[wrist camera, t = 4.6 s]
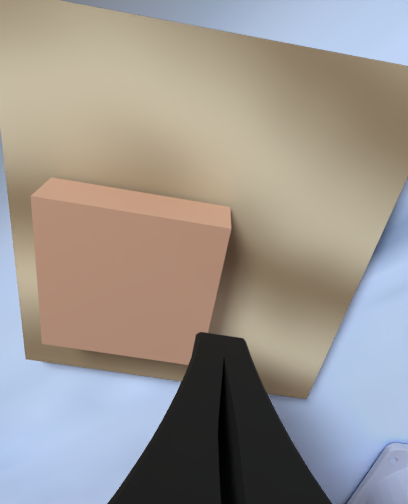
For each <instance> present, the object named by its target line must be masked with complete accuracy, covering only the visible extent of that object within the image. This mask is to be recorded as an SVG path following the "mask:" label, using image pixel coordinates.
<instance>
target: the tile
mask: <svg viewBox="0 0 408 504" xmlns="http://www.w3.org/2000/svg"><path fill="white" fill-rule="evenodd" d="M31 208H32V221H33V234H34V247H35V260H36V273H37V286H38V299H39V312H40V325H41V338H42V344H46V345H53V346H60V347H67V348H74V349H81V350H88V351H95V352H102V353H109V354H116V355H123V356H129V357H136V358H143V359H150V360H157V361H164V362H171V363H178V364H185V365H189V362H190V359H191V356H192V351H193V346H194V341H195V336H196V334H198V333H199V332H205V333H208V331H209V326H210V322H211V317H212V313H213V309H214V304H215V300H216V295H217V291H218V286H219V282H220V277H221V273H222V268H223V264H224V259H225V255H226V251H227V246H228V242H229V237H230V233H231V211H230V207H227V206H221V205H215V204H209V203H203V202H197V201H191V200H185V199H179V198H173V197H167V196H161V195H155V194H149V193H143V192H137V191H131V190H125V189H119V188H113V187H107V186H101V185H95V184H89V183H83V182H77V181H71V180H64V179H58V178H52V177H51V178H50V179H49V180H48V181H47V182H46V183H44V184H43V185H42V186H41V187H40V188H39V189H38V190H37V191H36V192H34V193H33V194H32V195H31Z"/></svg>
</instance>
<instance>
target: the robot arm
mask: <svg viewBox="0 0 408 504" xmlns="http://www.w3.org/2000/svg"><path fill="white" fill-rule="evenodd" d="M108 504H332V503H331V502H330V500H329V499H328V497H327V496H326V494H325V493H324V491H323V490H322V488H321V487H320V485H319V484H318V482H317V481H316V480H315V478H314V476H313V475H312V473H311V472H310V470H309V469H308V467H307V466H306V464H305V462H304V461H303V459H302V458H301V456H300V454H299V453H298V451H297V449H296V448H295V446H294V444H293V442H292V441H291V439H290V437H289V435H288V433H287V432H286V430H285V428H284V426H283V424H282V423H281V421H280V419H279V417H278V415H277V413H276V411H275V409H274V407H273V405H272V403H271V401H270V399H269V397H268V394H267V392H266V390H265V388H264V386H263V384H262V382H261V379H260V377H259V375H258V372H257V370H256V367H255V365H254V362H253V360H252V357H251V355H250V352H249V349H248V346H247V343H246V341H245V340H244V339H243V338H238V337H232V336H225V335H218V334H212V333H205V332H199V333H198V334H196V336H195V341H194V346H193V351H192V356H191V359H190V362H189V365H188V368H187V370H186V373H185V375H184V377H183V380H182V382H181V384H180V386H179V389H178V391H177V393H176V395H175V397H174V399H173V401H172V403H171V405H170V407H169V409H168V411H167V412H166V414H165V416H164V418H163V420H162V422H161V424H160V425H159V427H158V429H157V431H156V432H155V434H154V436H153V437H152V439H151V441H150V442H149V444H148V445H147V447H146V449H145V450H144V452H143V453H142V455H141V457H140V458H139V459H138V461H137V462H136V464H135V465H134V467H133V468H132V470H131V471H130V473H129V474H128V476H127V477H126V479H125V480H124V482H123V483H122V485H121V486H120V487H119V489H118V490H117V492H116V493H115V494H114V496H113V497H112V498H111V500H110V501H109V502H108ZM347 504H408V444H403V443H391V444H389V445H387V446H386V447H385V449H384V450H383V452H382V453H381V455H380V456H379V457H378V459H377V460H376V462H375V463H374V465H373V466H372V468H371V469H370V471H369V472H368V474H367V475H366V476H365V478H364V479H363V481H362V482H361V484H360V485H359V487H358V488H357V490H356V491H355V493H354V494H353V495H352V497H351V498H350V500H349V501H348V503H347Z"/></svg>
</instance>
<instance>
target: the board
mask: <svg viewBox="0 0 408 504" xmlns="http://www.w3.org/2000/svg"><path fill="white" fill-rule="evenodd" d="M0 128H1V137H2V146H3V155H4V164H5V173H6V183H7V192H8V201H9V210H10V219H11V228H12V238H13V247H14V256H15V265H16V274H17V283H18V292H19V302H20V311H21V320H22V329H23V338H24V347H25V356H26V359H29V360H36V361H43V362H50V363H57V364H64V365H71V366H78V367H85V368H92V369H99V370H106V371H113V372H120V373H127V374H134V375H141V376H148V377H155V378H162V379H169V380H176V381H182V380H183V377H184V375H185V373H186V370H187V368H188V365H185V364H178V363H171V362H164V361H157V360H150V359H143V358H136V357H129V356H123V355H116V354H109V353H102V352H95V351H88V350H81V349H74V348H67V347H60V346H53V345H46V344H42V338H41V325H40V312H39V299H38V286H37V273H36V260H35V247H34V234H33V221H32V208H31V195H32V194H33V193H34V192H36V191H37V190H38V189H39V188H40V187H41V186H42V185H43V184H44V183H46V182H47V181H48V180H49V179H50V178H51V177H52V178H58V179H64V180H71V181H77V182H83V183H89V184H95V185H101V186H107V187H113V188H119V189H125V190H131V191H137V192H143V193H149V194H155V195H161V196H167V197H173V198H179V199H185V200H191V201H197V202H203V203H209V204H215V205H221V206H227V207H230V211H231V233H230V237H229V242H228V246H227V251H226V255H225V259H224V264H223V268H222V273H221V277H220V282H219V286H218V291H217V295H216V300H215V304H214V309H213V313H212V317H211V322H210V326H209V331H208V333H212V334H218V335H225V336H232V337H238V338H243V339H244V340H245V341H246V343H247V346H248V349H249V352H250V355H251V357H252V360H253V362H254V365H255V367H256V370H257V372H258V375H259V377H260V379H261V382H262V384H263V386H264V388H265V390H266V392H267V394H274V395H281V396H288V397H295V398H302V399H307V397H308V395H309V392H310V390H311V388H312V386H313V384H314V381H315V379H316V377H317V375H318V373H319V370H320V368H321V366H322V364H323V362H324V360H325V357H326V355H327V353H328V351H329V349H330V346H331V344H332V342H333V340H334V338H335V335H336V333H337V331H338V329H339V327H340V324H341V322H342V320H343V318H344V316H345V313H346V311H347V309H348V307H349V305H350V302H351V300H352V298H353V296H354V294H355V292H356V289H357V287H358V285H359V283H360V281H361V278H362V276H363V274H364V272H365V270H366V267H367V265H368V263H369V261H370V259H371V256H372V254H373V252H374V250H375V248H376V245H377V243H378V241H379V239H380V237H381V234H382V232H383V230H384V228H385V226H386V224H387V221H388V219H389V217H390V215H391V213H392V210H393V208H394V206H395V204H396V202H397V199H398V197H399V195H400V193H401V191H402V188H403V186H404V184H405V182H406V180H407V177H408V66H405V65H400V64H394V63H389V62H384V61H378V60H373V59H368V58H363V57H357V56H352V55H347V54H341V53H336V52H331V51H325V50H320V49H315V48H310V47H304V46H299V45H294V44H288V43H283V42H278V41H272V40H267V39H262V38H257V37H251V36H246V35H241V34H235V33H230V32H225V31H219V30H214V29H209V28H204V27H198V26H193V25H188V24H182V23H177V22H172V21H166V20H161V19H156V18H151V17H145V16H140V15H135V14H129V13H124V12H119V11H113V10H108V9H103V8H98V7H92V6H87V5H82V4H76V3H71V2H66V1H60V0H0Z"/></svg>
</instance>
